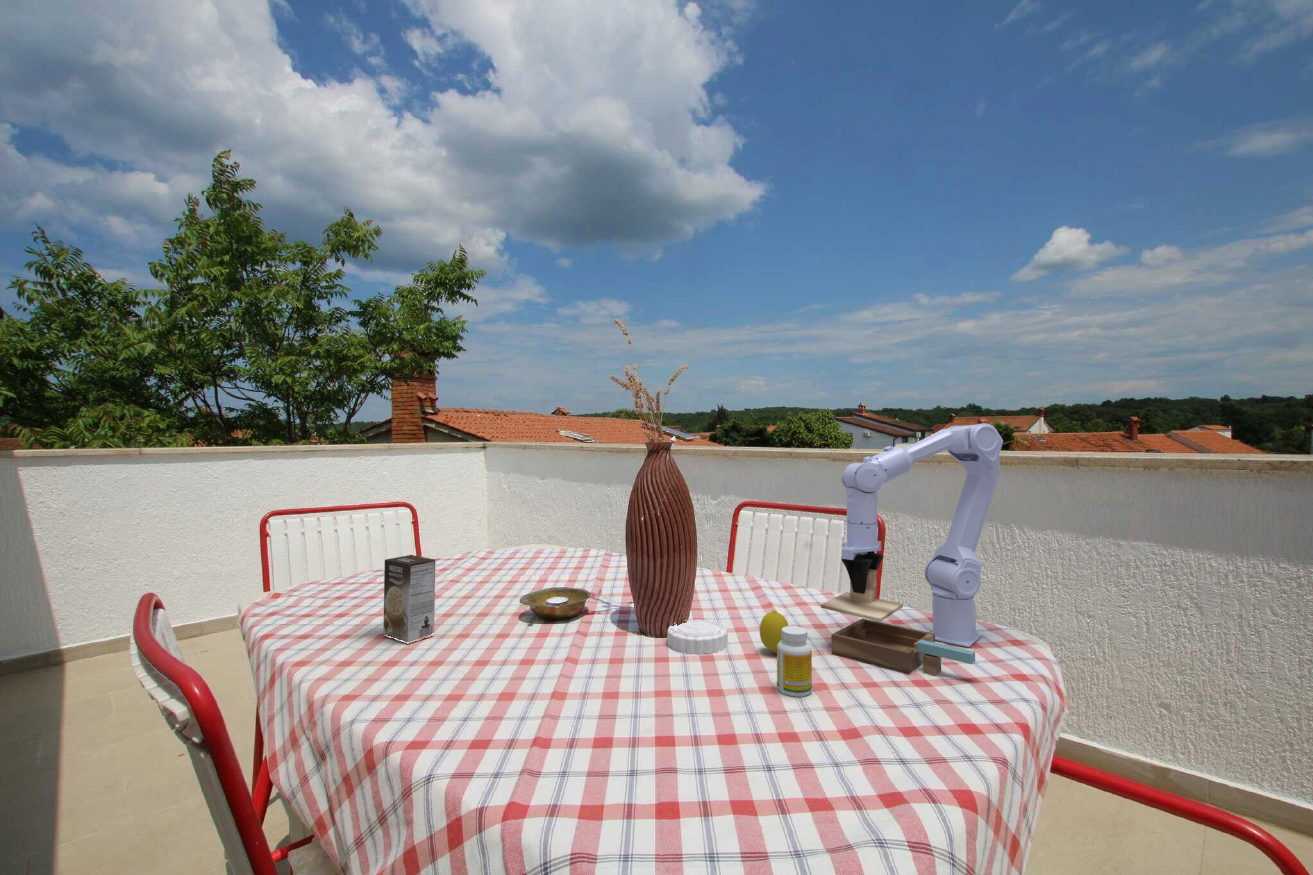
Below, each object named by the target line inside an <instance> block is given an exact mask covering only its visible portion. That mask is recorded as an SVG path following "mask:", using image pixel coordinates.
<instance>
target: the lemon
mask: <svg viewBox="0 0 1313 875" xmlns="http://www.w3.org/2000/svg"><path fill="white" fill-rule="evenodd" d="M786 626H790V625H789V622H788V621H787V619H786V617H785V616H784V615H783V614H781V613H780V612H777V610H772V611H770V612H767V614H765V615H764V616H763V617H762V619H761V621H760V625H759V638H760V640H761V643H762V644H763V646H764V647H765V648H766V649H768V650H770V651H771V653H773V654H777V645H778V643H779V642H780V641H781V640H783V639H782V637H781V633H782V628H783V627H786Z"/></svg>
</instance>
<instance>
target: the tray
mask: <svg viewBox="0 0 1313 875" xmlns="http://www.w3.org/2000/svg"><path fill="white" fill-rule="evenodd" d="M830 635H831V636H830V637H831V640H830V642H831V655H835V656H838V657H842V658H844V659H845V658H846V659H848V660H849V659H850V660H854V661H856V662H860V663H864V664H868V665H872V666H876V667H880V668H883V669H887V670H891V671H895V672H897V673H898V672H899V673H902V674H906V675H910V674H912V673H913V672H915V670H916V669H918V668H919V667H920V666H921V665H922V670H923V671H922V673H923V674H927V675H930V676H934V677H936V676H938V675H939V673H941V672H942V657H938V656H934V655H930V654H925V653H921V652H917V642H918V641H920V640H926V641H930V642H935V643H936V640H935V634H934V633H930V632H928V631H924V630H918V629H915V628H910V627H906V626H900V625H895V624H891V623H885V622H883V621H881V622H878V621H874V620H870V619H866V618H862V617H861V619H859V620H856V621H855V622H853V623H851V624H849V625H847V626H845V627H844V628H841V629H840V630H838V631H835V632H833V633H832V634H830Z"/></svg>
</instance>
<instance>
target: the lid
mask: <svg viewBox="0 0 1313 875" xmlns="http://www.w3.org/2000/svg"><path fill="white" fill-rule="evenodd" d="M849 581H850V580H849ZM849 585H850V586H849V587H850V588H849V589H850V590H849V592H848V591H846V592H843V593H842V594H840V595H838V596H836V597H834V598H831V599H829V600H827V601H825V602H824V603H821V604H820V607H821V609H824V610H829V611H834V612H835V613H836V612H837V613H842V614H845V615H850V616H853V617H858V618H861V619H862V618H863V619H867V620H872V621H877V622H883V621H884V620H885V619H887V618H889V617H890V616H892V615H893V614H894V613H896V612H898V611H899V610H901V609H902V608H903V603H900V602H895V601H890V600H885V599H880V598H877V571H876V570H872V569H869V571H868V575H867V583H866V590H865V593H864V594H861V593H855V592H853V589H852V586H851V581H850V583H849Z"/></svg>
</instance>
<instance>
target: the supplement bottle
mask: <svg viewBox="0 0 1313 875" xmlns="http://www.w3.org/2000/svg"><path fill="white" fill-rule="evenodd" d="M781 637H782V639H783V640H781V641H780V642H779V643H778V645H777V653H776V672H777V673H776V683H777V687H776V688H777V690H778V691H779V692H780V693H782V694H784V695H786V696H790V697H796V698H801V697H802V698H803V697H807V696H809V695H810V694H811V693H812V690H813V689H812V688H813V687H812V685H813V684H812V683H813V676H812V675H813V673H812V672H813V669H812V667H813V666H812V664H813V662H812V660H813V659H812V657H813V655H812V653H813V650H812V646H811V644H809V642H807V640H808V630H807V629H806V628H804V627H803V626H802V627H801V626H796V625H793V626H792V625H789V626H786V627H783V628H782V633H781Z"/></svg>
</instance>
